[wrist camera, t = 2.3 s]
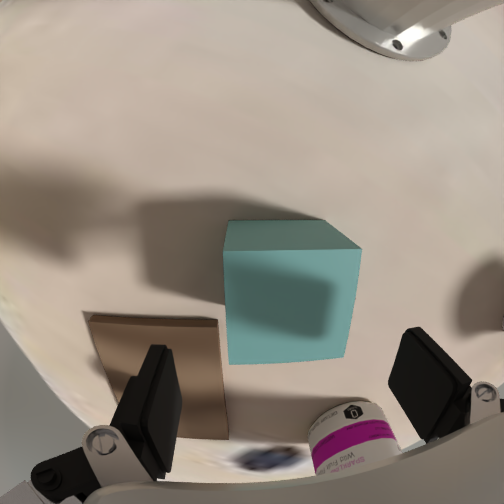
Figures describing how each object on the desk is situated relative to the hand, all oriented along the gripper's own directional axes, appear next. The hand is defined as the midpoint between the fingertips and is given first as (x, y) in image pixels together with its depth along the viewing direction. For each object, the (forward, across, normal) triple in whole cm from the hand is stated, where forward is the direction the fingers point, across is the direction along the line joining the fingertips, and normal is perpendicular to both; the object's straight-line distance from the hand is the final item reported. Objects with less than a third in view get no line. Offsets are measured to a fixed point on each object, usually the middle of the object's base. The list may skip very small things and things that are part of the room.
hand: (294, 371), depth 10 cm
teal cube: (+9, 0, -1) cm, 9 cm away
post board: (+10, +8, +10) cm, 16 cm away
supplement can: (+10, -8, +17) cm, 21 cm away
